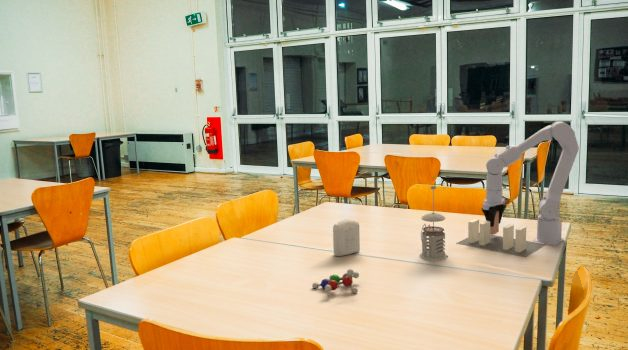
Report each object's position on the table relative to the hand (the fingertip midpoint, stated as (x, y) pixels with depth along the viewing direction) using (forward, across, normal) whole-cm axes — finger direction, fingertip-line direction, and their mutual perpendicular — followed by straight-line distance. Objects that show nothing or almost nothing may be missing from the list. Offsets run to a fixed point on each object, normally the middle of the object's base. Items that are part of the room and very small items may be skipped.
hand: (493, 224), depth 193 cm
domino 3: (+5, +9, +10) cm, 14 cm away
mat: (+6, +6, +5) cm, 10 cm away
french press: (+6, +32, -7) cm, 33 cm away
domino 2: (+5, +9, +1) cm, 10 cm away
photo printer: (+6, +47, -33) cm, 58 cm away
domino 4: (+5, +9, +14) cm, 17 cm away
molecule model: (+6, +74, -14) cm, 75 cm away
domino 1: (+5, +9, -4) cm, 11 cm away
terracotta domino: (+3, 0, 0) cm, 3 cm away
